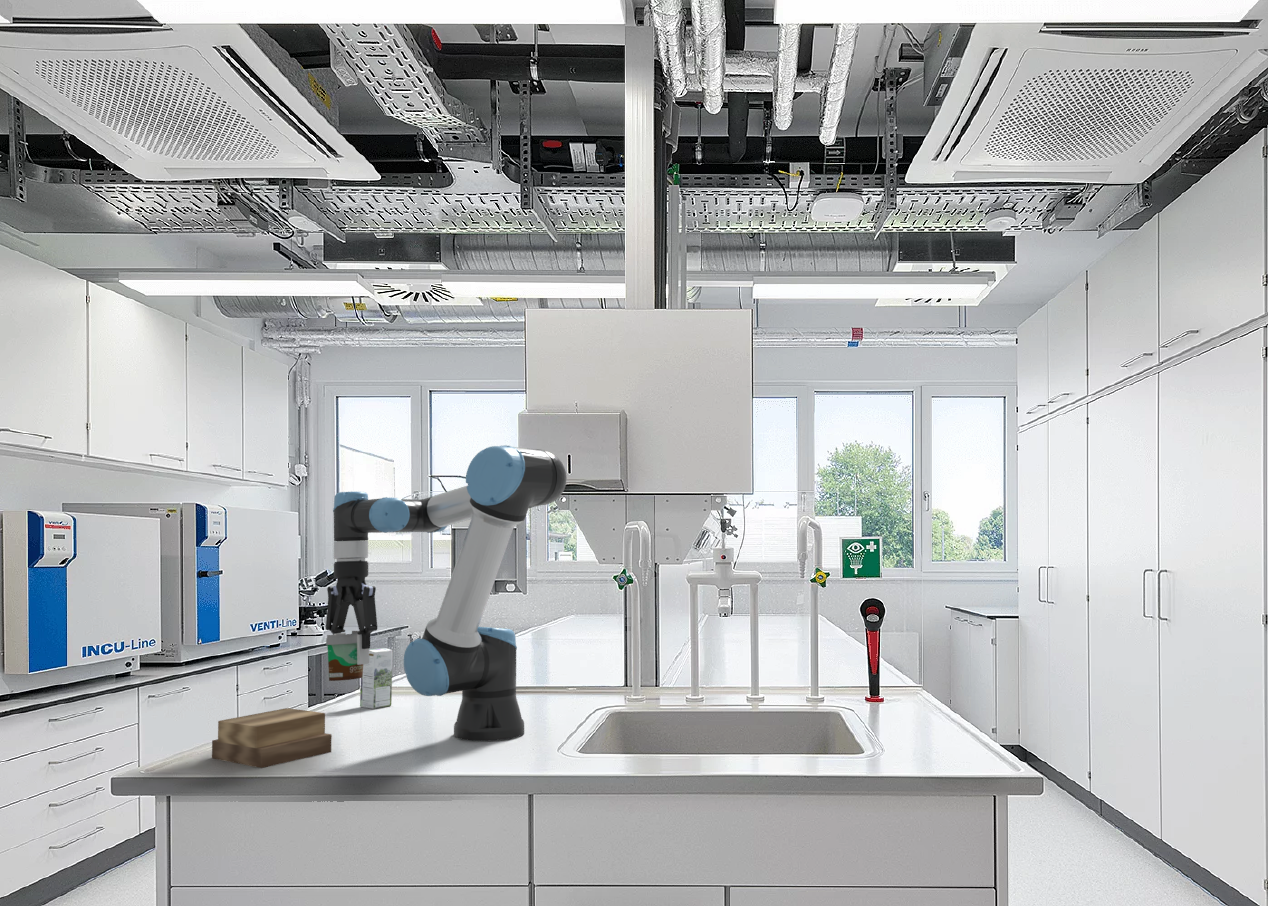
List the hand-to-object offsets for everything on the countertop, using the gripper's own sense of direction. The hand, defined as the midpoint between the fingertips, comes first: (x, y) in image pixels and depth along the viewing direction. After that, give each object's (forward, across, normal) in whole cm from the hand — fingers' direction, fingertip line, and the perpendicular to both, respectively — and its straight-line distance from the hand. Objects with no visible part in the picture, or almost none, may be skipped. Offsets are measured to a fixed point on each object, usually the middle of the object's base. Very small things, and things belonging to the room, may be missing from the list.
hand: (351, 663), depth 219 cm
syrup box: (+15, +21, -25) cm, 36 cm away
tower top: (+12, -5, +24) cm, 27 cm away
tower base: (+16, -5, +24) cm, 29 cm away
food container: (+3, 0, 0) cm, 4 cm away
